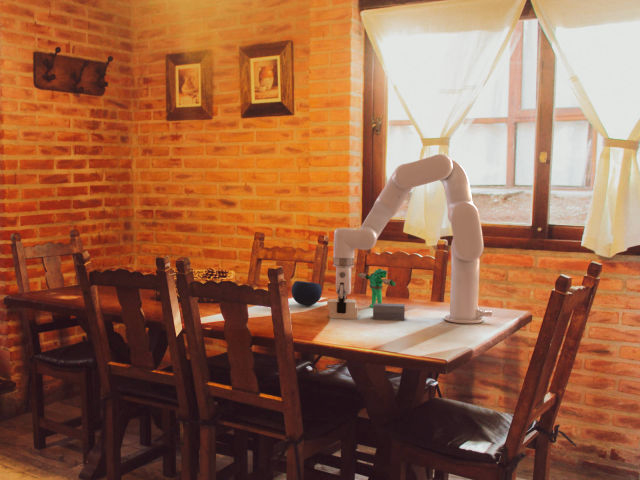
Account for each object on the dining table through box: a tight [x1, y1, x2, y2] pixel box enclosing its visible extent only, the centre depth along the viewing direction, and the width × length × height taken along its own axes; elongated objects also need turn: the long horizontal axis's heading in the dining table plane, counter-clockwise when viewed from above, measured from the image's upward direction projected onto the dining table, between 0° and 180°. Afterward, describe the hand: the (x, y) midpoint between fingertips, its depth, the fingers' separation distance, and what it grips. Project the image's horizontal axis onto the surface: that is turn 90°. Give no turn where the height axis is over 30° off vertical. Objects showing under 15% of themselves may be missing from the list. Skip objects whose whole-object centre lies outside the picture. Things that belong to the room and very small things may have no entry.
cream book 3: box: [328, 311, 359, 320], centre depth 272 cm, size 10×6×2 cm, turn 78°
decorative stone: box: [291, 280, 323, 307], centre depth 294 cm, size 12×12×10 cm
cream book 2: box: [328, 304, 359, 314], centre depth 272 cm, size 10×6×2 cm, turn 78°
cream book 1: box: [326, 298, 357, 308], centre depth 272 cm, size 10×6×2 cm, turn 78°
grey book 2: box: [372, 311, 405, 321], centre depth 269 cm, size 11×5×2 cm, turn 78°
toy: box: [358, 268, 396, 309], centre depth 288 cm, size 26×6×15 cm, turn 22°
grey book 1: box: [372, 302, 406, 313], centre depth 269 cm, size 11×5×2 cm, turn 78°
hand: (341, 310), depth 272 cm, fingers open, 6 cm apart
